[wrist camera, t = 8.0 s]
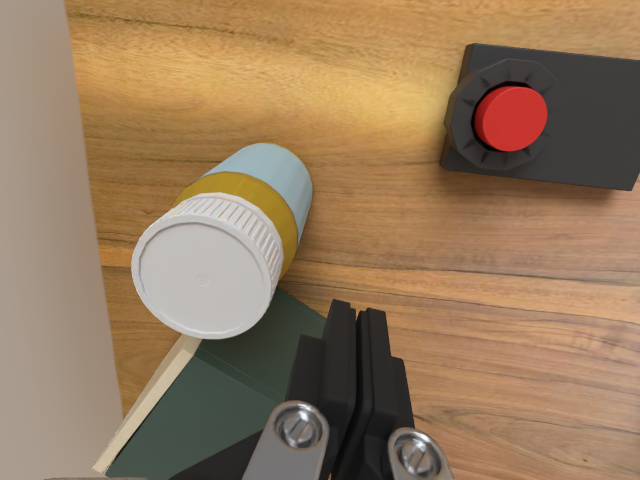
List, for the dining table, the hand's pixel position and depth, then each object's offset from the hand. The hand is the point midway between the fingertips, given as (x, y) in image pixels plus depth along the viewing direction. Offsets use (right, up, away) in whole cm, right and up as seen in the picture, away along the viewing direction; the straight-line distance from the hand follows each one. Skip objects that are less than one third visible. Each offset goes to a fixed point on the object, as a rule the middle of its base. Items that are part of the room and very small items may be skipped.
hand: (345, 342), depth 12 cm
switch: (+15, +12, +14) cm, 24 cm away
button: (+11, +11, +12) cm, 19 cm away
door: (-12, -3, +23) cm, 26 cm away
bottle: (-5, +8, +18) cm, 20 cm away
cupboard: (-7, -7, +24) cm, 26 cm away
